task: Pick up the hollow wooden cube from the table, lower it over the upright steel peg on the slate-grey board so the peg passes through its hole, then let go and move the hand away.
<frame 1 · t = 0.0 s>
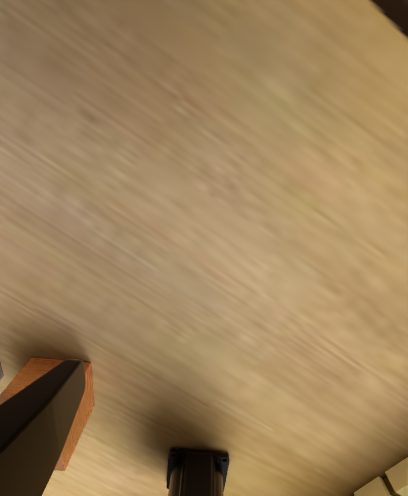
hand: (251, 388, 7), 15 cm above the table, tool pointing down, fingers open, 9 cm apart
hollow wooden cube: (64, 382, 27), on the table
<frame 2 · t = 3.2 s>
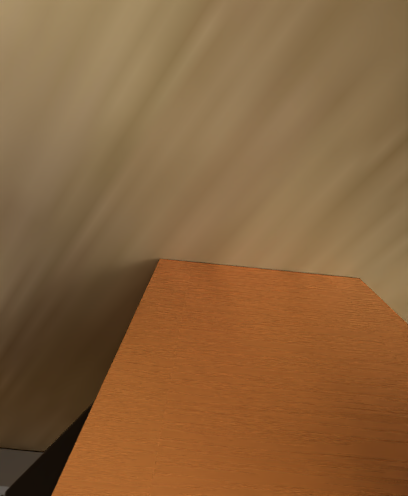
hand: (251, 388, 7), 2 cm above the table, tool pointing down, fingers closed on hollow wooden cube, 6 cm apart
hollow wooden cube: (245, 348, 9), on the table, touching gripper
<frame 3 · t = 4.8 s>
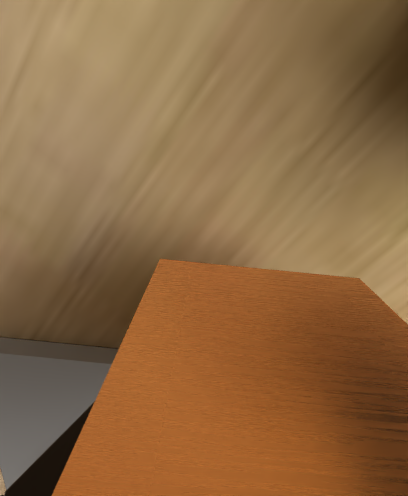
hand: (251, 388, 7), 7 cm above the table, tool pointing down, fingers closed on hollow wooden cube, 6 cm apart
stand: (107, 429, 19), on the table
hollow wooden cube: (245, 348, 9), point 6 cm above the table, touching gripper
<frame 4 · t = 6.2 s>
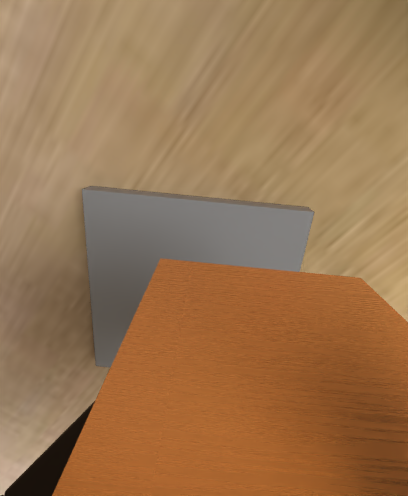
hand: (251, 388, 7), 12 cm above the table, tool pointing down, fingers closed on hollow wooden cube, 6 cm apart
stand: (191, 290, 20), on the table
hollow wooden cube: (245, 348, 9), point 11 cm above the table, touching gripper
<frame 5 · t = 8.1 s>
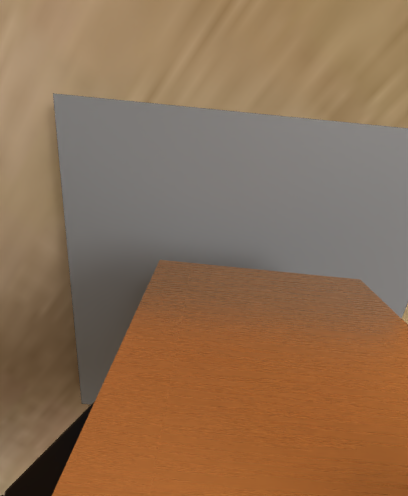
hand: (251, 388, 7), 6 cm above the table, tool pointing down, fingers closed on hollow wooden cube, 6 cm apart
stand: (234, 284, 13), on the table
hollow wooden cube: (245, 349, 9), point 4 cm above the table, touching gripper
when the fingers open (4 cm above the table, at t = 9.5 s): hollow wooden cube drops 1 cm, resting on stand.
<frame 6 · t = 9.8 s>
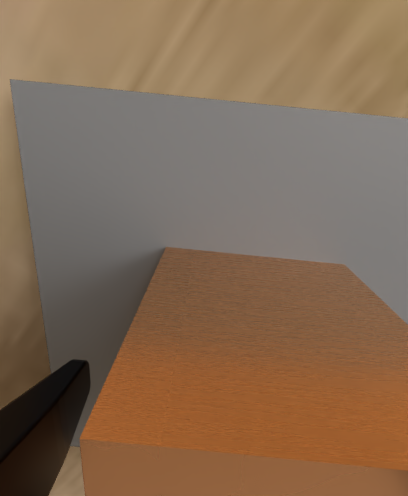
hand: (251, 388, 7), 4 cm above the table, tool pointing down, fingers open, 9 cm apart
stand: (239, 309, 11), on the table
hollow wooden cube: (242, 329, 10), point 1 cm above the table, touching stand
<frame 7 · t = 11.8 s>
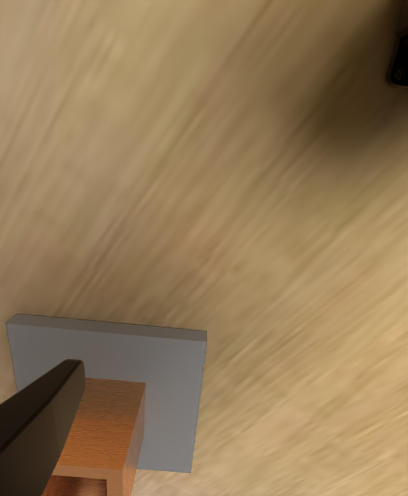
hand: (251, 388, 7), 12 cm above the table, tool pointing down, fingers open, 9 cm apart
stand: (113, 394, 23), on the table
hollow wooden cube: (109, 407, 22), point 1 cm above the table, touching stand
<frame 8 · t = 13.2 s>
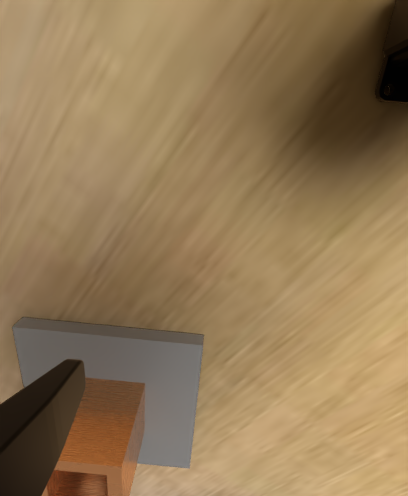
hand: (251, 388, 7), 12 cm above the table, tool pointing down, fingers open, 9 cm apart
stand: (115, 393, 24), on the table
hollow wooden cube: (110, 405, 23), point 1 cm above the table, touching stand
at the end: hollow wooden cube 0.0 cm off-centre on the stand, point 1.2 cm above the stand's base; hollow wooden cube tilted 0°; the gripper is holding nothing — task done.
